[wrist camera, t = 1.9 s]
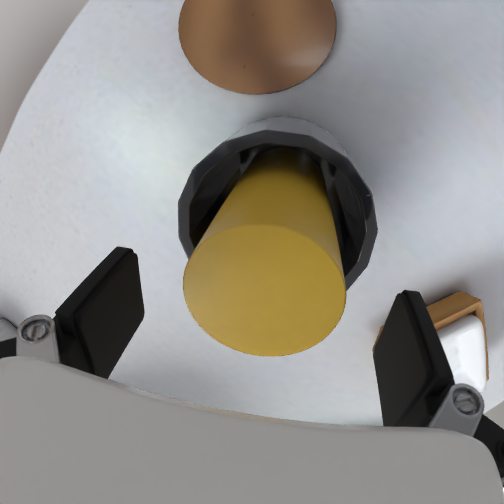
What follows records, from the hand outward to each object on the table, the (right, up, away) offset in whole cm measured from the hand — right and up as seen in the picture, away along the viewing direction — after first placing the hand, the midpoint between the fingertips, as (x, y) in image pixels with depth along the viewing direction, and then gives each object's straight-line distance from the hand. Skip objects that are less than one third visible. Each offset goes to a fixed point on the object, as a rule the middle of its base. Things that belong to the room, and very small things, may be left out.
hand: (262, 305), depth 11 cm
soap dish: (+17, -7, +16) cm, 24 cm away
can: (+2, +6, +10) cm, 12 cm away
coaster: (0, +16, +5) cm, 17 cm away
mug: (+2, +5, +12) cm, 13 cm away
